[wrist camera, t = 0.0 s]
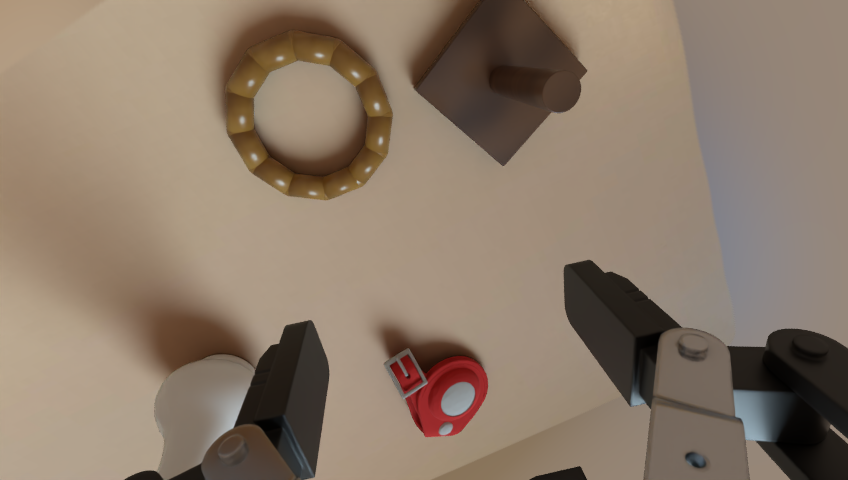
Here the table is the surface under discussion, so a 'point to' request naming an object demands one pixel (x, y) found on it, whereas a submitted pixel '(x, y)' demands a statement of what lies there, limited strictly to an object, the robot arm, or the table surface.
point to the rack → (502, 76)
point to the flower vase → (199, 408)
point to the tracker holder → (440, 391)
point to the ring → (317, 51)
